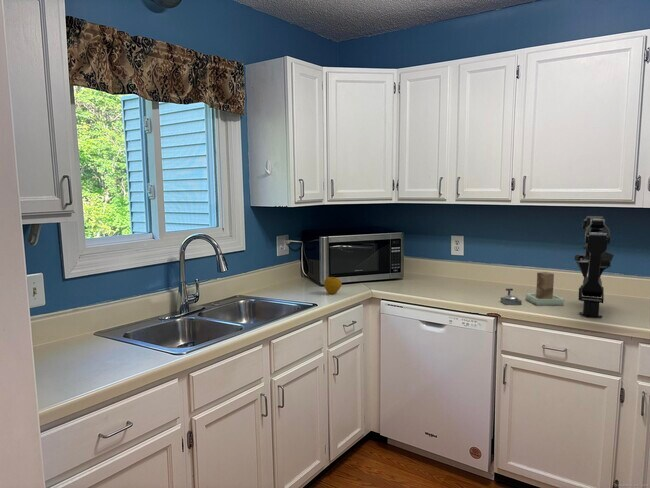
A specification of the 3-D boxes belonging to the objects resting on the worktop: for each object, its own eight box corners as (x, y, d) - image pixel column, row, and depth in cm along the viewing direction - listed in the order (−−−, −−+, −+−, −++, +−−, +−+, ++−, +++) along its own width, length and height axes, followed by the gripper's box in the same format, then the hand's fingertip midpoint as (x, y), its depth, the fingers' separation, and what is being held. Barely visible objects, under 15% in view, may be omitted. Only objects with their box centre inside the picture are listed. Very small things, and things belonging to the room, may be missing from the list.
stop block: (552, 301, 221) (554, 273, 220) (544, 302, 220) (545, 274, 218) (544, 298, 226) (545, 271, 225) (535, 299, 224) (537, 272, 223)
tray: (563, 305, 217) (563, 299, 217) (536, 305, 217) (537, 299, 217) (550, 299, 229) (551, 293, 229) (525, 299, 229) (525, 293, 229)
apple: (344, 293, 243) (344, 276, 242) (334, 296, 237) (334, 278, 235) (331, 291, 249) (331, 274, 248) (320, 294, 242) (320, 276, 241)
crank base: (521, 304, 219) (521, 300, 218) (506, 304, 219) (506, 300, 218) (515, 301, 225) (515, 297, 225) (500, 301, 225) (500, 297, 225)
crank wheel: (520, 300, 219) (520, 291, 218) (507, 300, 219) (507, 291, 218) (514, 297, 225) (515, 288, 224) (502, 297, 225) (502, 288, 224)
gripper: (624, 247, 199) (622, 283, 201) (599, 242, 218) (596, 275, 220) (598, 247, 199) (595, 283, 201) (574, 242, 218) (572, 275, 220)
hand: (590, 279), depth 211 cm, fingers open, 9 cm apart
